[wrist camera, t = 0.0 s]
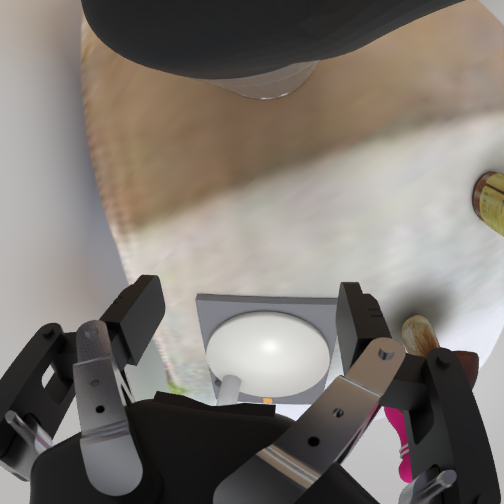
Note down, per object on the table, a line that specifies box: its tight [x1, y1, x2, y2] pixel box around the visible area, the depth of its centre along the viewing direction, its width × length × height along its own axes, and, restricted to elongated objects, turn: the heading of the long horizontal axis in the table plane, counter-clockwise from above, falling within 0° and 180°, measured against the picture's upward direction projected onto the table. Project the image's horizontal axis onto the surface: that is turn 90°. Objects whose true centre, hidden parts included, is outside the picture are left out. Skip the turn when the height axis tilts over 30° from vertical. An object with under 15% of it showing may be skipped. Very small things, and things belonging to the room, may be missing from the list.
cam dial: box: [206, 311, 330, 406], centre depth 34 cm, size 18×16×7 cm
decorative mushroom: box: [397, 315, 479, 414], centre depth 27 cm, size 11×11×15 cm
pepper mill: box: [384, 407, 412, 483], centre depth 31 cm, size 7×7×20 cm
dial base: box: [195, 294, 338, 404], centre depth 38 cm, size 21×17×1 cm
